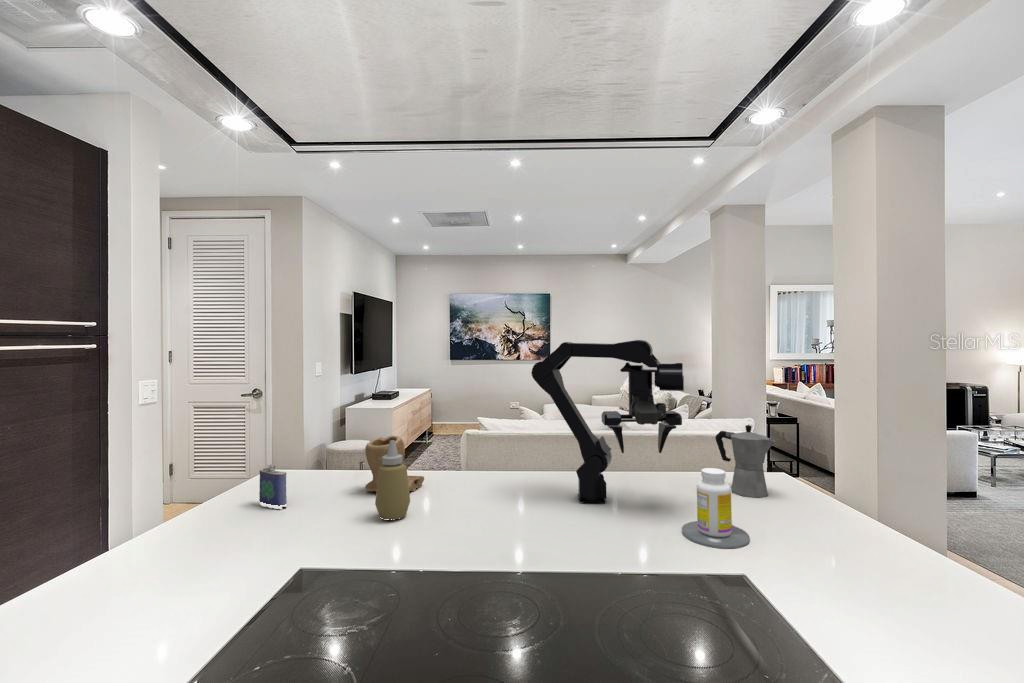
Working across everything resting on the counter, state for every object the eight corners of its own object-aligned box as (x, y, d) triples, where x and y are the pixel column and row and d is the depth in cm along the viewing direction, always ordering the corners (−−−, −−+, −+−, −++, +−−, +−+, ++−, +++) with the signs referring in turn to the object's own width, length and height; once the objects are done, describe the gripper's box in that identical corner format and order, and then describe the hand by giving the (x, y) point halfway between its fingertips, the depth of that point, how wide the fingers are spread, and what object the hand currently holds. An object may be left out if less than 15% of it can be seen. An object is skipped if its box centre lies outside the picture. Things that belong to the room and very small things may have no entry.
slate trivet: (693, 548, 94) (693, 545, 94) (674, 523, 107) (674, 520, 107) (761, 548, 93) (761, 545, 93) (733, 523, 106) (733, 520, 106)
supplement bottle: (733, 529, 102) (732, 468, 102) (730, 540, 96) (729, 476, 96) (699, 523, 105) (698, 465, 105) (695, 534, 99) (694, 472, 99)
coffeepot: (782, 493, 127) (781, 425, 127) (770, 502, 120) (769, 430, 120) (723, 482, 138) (722, 419, 138) (709, 489, 131) (708, 423, 131)
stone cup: (357, 497, 128) (356, 441, 128) (374, 484, 140) (373, 432, 140) (412, 498, 126) (412, 441, 126) (425, 485, 138) (424, 433, 138)
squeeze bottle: (367, 520, 110) (367, 442, 111) (389, 509, 118) (388, 436, 118) (397, 525, 107) (396, 445, 107) (417, 513, 115) (416, 438, 115)
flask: (289, 507, 120) (288, 465, 120) (278, 511, 118) (277, 467, 118) (266, 502, 125) (265, 461, 125) (255, 505, 122) (254, 463, 122)
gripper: (607, 393, 112) (608, 460, 111) (689, 393, 111) (689, 460, 111) (600, 389, 123) (601, 450, 123) (674, 388, 122) (675, 450, 122)
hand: (641, 452), depth 119 cm, fingers open, 9 cm apart
